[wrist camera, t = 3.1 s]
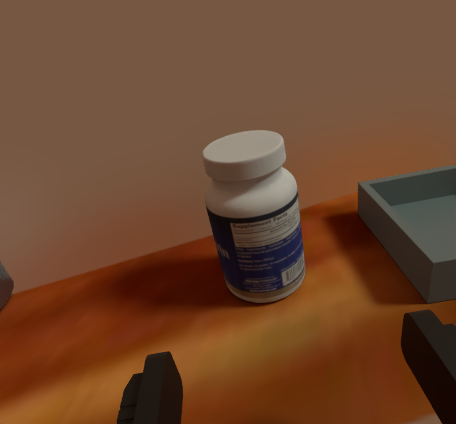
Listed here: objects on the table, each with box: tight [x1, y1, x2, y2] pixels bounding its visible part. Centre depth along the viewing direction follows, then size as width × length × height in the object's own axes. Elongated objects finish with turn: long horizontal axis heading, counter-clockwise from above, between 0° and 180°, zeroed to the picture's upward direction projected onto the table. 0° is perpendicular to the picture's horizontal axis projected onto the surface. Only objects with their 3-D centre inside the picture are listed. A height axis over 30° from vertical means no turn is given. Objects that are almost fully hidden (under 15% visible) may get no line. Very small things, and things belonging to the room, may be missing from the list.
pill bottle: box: [202, 130, 305, 303], centre depth 21 cm, size 6×6×10 cm
